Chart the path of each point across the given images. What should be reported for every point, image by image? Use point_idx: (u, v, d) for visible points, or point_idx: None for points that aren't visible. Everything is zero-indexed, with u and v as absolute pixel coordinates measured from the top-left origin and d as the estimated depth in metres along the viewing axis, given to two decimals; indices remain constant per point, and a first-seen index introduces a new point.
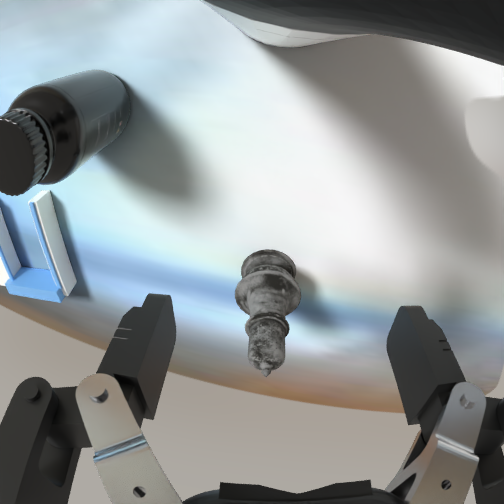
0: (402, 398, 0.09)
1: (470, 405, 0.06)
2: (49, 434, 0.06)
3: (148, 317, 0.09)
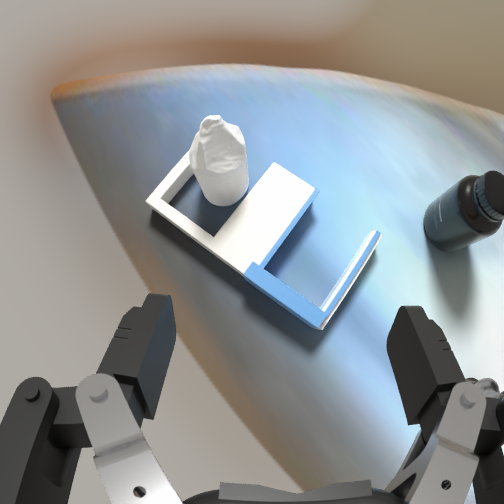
0: (402, 398, 0.09)
1: (470, 405, 0.06)
2: (49, 434, 0.06)
3: (148, 317, 0.09)
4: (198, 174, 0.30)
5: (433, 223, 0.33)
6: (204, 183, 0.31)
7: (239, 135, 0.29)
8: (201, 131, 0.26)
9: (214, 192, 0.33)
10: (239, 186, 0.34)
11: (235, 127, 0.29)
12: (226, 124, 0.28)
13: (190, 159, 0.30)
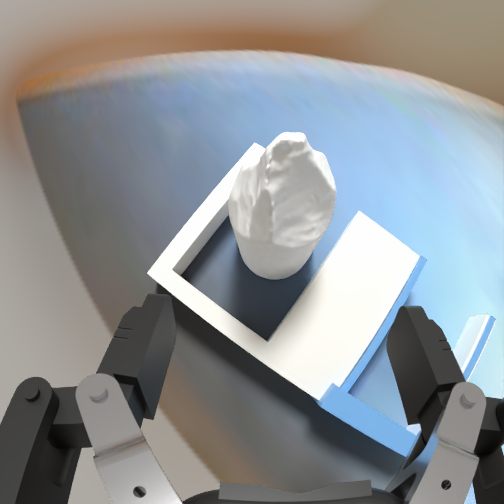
0: (402, 398, 0.09)
1: (470, 405, 0.06)
2: (49, 434, 0.06)
3: (148, 317, 0.09)
4: (251, 246, 0.16)
5: None
6: (256, 257, 0.18)
7: (328, 172, 0.15)
8: (270, 166, 0.12)
9: (270, 268, 0.19)
10: (309, 254, 0.20)
11: (322, 156, 0.15)
12: (312, 151, 0.14)
13: (232, 213, 0.16)
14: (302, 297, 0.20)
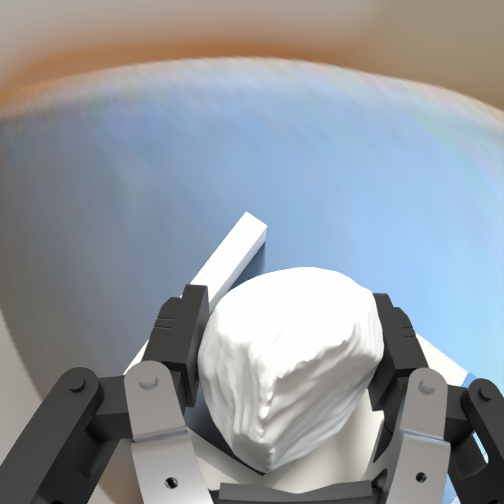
0: None
1: (429, 391, 0.07)
2: (87, 425, 0.07)
3: (190, 306, 0.10)
4: None
5: None
6: None
7: (377, 328, 0.08)
8: (268, 411, 0.05)
9: None
10: None
11: (371, 306, 0.08)
12: (360, 324, 0.06)
13: (204, 388, 0.09)
14: None
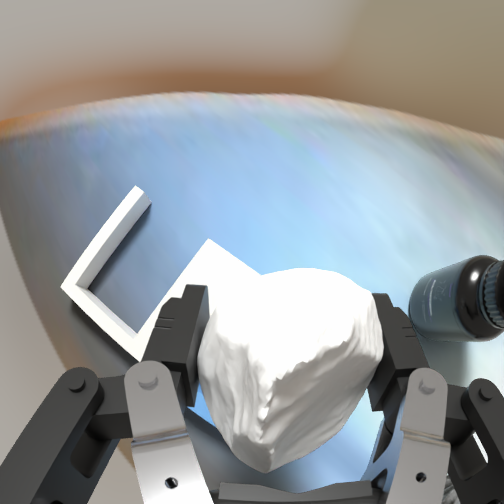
0: None
1: (429, 391, 0.07)
2: (87, 426, 0.07)
3: (189, 306, 0.10)
4: None
5: (420, 312, 0.25)
6: None
7: (377, 329, 0.08)
8: (268, 412, 0.05)
9: None
10: None
11: (371, 307, 0.08)
12: (359, 325, 0.06)
13: (204, 388, 0.09)
14: (157, 307, 0.26)
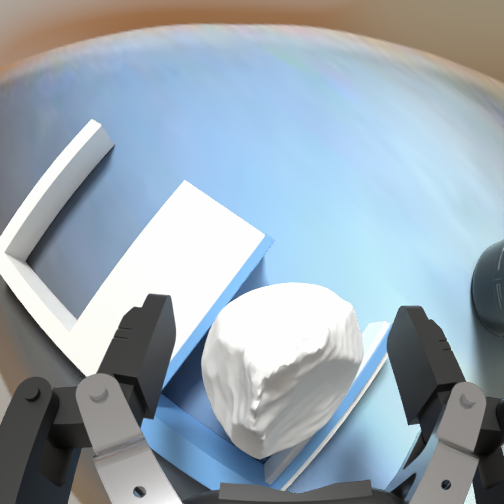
0: (402, 398, 0.09)
1: (470, 405, 0.06)
2: (49, 434, 0.06)
3: (148, 317, 0.09)
4: None
5: (493, 296, 0.15)
6: None
7: (356, 336, 0.09)
8: (259, 403, 0.06)
9: None
10: None
11: (350, 317, 0.09)
12: (336, 334, 0.08)
13: (207, 386, 0.10)
14: (104, 284, 0.16)
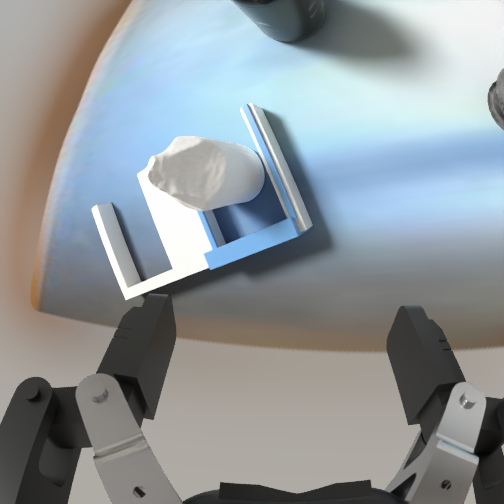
0: (402, 398, 0.09)
1: (470, 405, 0.06)
2: (49, 434, 0.06)
3: (148, 317, 0.09)
4: (210, 208, 0.24)
5: (272, 32, 0.23)
6: (224, 204, 0.25)
7: (188, 140, 0.22)
8: (160, 187, 0.20)
9: (241, 195, 0.27)
10: (249, 163, 0.27)
11: (176, 141, 0.22)
12: (166, 151, 0.21)
13: (189, 207, 0.25)
14: (160, 236, 0.32)
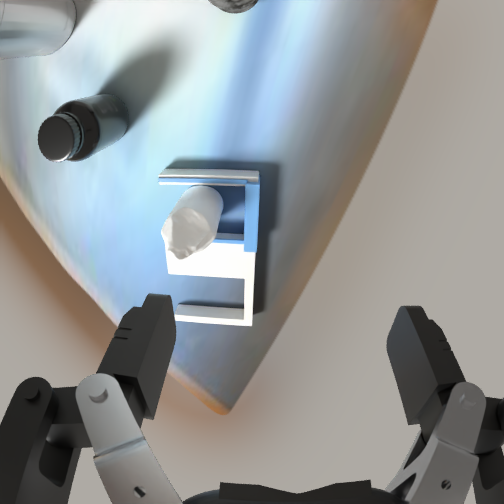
0: (402, 398, 0.09)
1: (470, 405, 0.06)
2: (49, 434, 0.06)
3: (148, 317, 0.09)
4: (215, 231, 0.35)
5: (115, 139, 0.35)
6: (217, 221, 0.36)
7: (167, 226, 0.34)
8: (188, 255, 0.32)
9: (217, 208, 0.38)
10: (198, 194, 0.38)
11: (163, 233, 0.34)
12: (168, 241, 0.33)
13: (208, 244, 0.36)
14: (219, 276, 0.44)
